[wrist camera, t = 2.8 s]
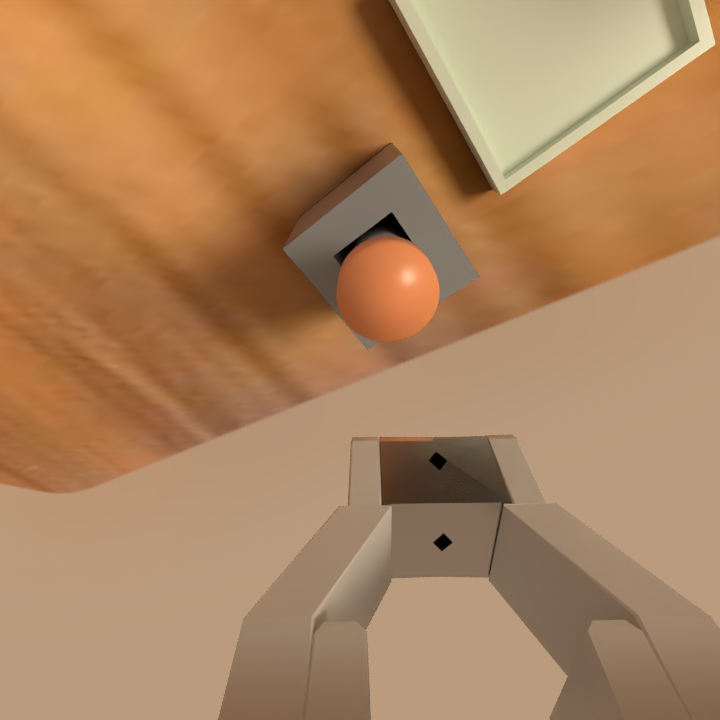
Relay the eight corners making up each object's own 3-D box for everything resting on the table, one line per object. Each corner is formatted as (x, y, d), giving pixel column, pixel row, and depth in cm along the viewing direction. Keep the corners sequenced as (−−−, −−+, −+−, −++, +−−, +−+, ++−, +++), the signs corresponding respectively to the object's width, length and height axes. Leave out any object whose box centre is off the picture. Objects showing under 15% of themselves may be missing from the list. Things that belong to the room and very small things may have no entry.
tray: (382, -11, 18) (384, -20, 17) (613, -231, 15) (637, -263, 14) (492, 189, 22) (501, 194, 21) (691, 48, 19) (715, 44, 18)
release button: (326, 242, 19) (315, 286, 15) (390, 192, 18) (402, 222, 13) (371, 300, 21) (376, 358, 16) (433, 257, 20) (458, 306, 15)
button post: (299, 217, 23) (282, 249, 18) (391, 142, 21) (401, 153, 16) (365, 300, 25) (367, 349, 20) (452, 239, 23) (479, 276, 18)
